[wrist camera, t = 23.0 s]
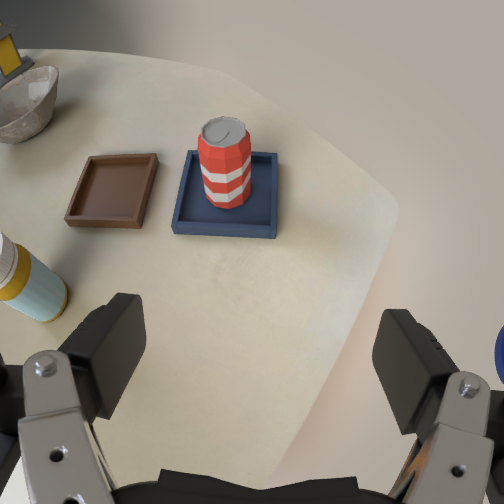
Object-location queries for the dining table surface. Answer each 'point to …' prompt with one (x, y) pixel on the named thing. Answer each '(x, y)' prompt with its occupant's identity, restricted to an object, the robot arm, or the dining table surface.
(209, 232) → the tray
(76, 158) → the dining table surface
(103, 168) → the tray
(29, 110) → the ceramic bowl
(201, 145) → the beverage can
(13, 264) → the bottle
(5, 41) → the lantern
